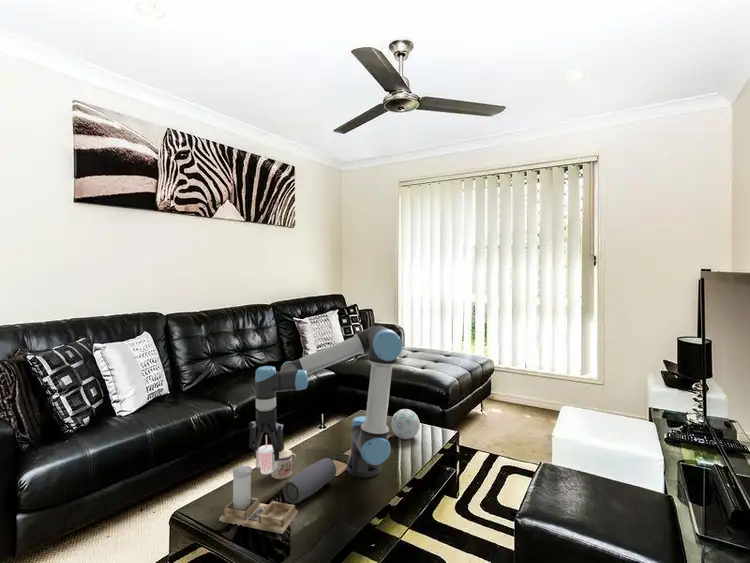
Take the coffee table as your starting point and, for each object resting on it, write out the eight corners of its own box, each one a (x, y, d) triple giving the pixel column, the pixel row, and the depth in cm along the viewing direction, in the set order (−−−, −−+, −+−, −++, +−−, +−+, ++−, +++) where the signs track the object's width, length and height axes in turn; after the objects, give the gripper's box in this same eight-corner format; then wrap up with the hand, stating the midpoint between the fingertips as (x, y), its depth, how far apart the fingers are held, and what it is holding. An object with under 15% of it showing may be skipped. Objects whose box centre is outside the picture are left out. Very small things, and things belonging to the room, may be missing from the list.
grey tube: (254, 506, 149) (255, 467, 149) (244, 517, 143) (245, 476, 143) (238, 504, 151) (239, 464, 151) (228, 514, 145) (228, 473, 144)
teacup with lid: (279, 482, 169) (279, 454, 169) (266, 474, 175) (266, 447, 175) (301, 471, 179) (302, 445, 178) (288, 464, 184) (289, 439, 184)
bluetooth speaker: (319, 477, 174) (319, 454, 174) (337, 483, 169) (337, 459, 169) (281, 502, 155) (282, 476, 154) (300, 510, 150) (301, 483, 150)
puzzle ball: (386, 434, 220) (386, 407, 220) (410, 430, 227) (411, 403, 226) (399, 445, 207) (400, 416, 206) (425, 441, 213) (425, 412, 213)
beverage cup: (267, 465, 161) (267, 430, 161) (278, 470, 158) (278, 434, 157) (255, 472, 156) (254, 436, 155) (265, 476, 153) (265, 439, 152)
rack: (297, 513, 148) (297, 503, 148) (282, 533, 137) (282, 522, 136) (238, 502, 154) (239, 492, 154) (219, 521, 142) (219, 510, 142)
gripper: (293, 406, 157) (294, 465, 158) (249, 402, 162) (249, 460, 163) (284, 413, 150) (285, 475, 151) (238, 409, 155) (239, 469, 155)
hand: (266, 467), depth 157 cm, fingers closed on beverage cup, 6 cm apart
